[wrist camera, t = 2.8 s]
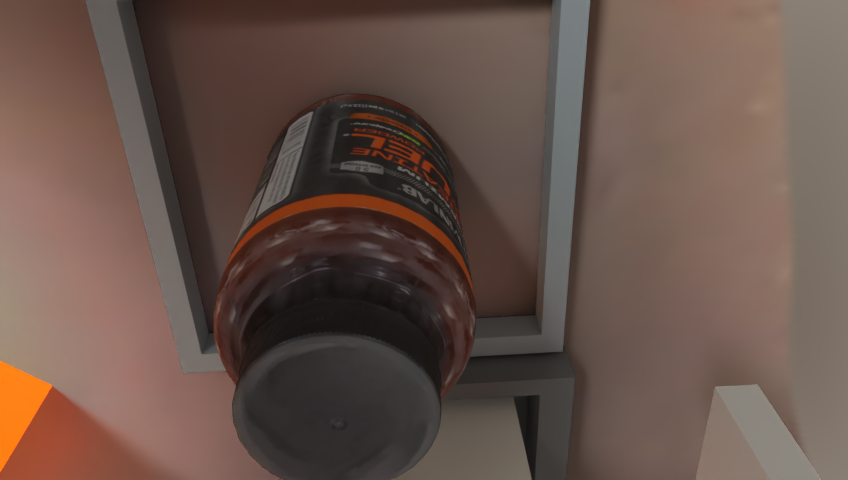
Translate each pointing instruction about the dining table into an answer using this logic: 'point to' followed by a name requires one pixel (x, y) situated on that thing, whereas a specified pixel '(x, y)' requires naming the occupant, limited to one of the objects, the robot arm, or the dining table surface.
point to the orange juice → (17, 406)
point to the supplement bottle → (347, 295)
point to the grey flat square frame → (165, 221)
